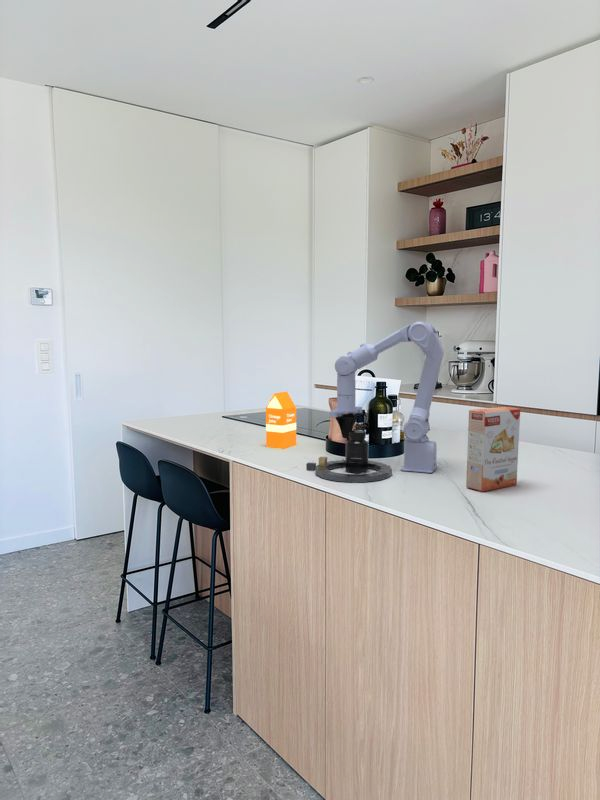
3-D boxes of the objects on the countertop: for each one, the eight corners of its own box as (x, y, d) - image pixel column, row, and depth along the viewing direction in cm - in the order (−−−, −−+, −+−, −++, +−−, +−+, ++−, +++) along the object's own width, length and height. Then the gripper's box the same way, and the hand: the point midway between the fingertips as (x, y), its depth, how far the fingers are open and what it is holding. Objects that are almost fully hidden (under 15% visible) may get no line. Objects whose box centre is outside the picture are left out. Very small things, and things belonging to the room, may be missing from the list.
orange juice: (296, 445, 217) (296, 391, 214) (283, 449, 209) (282, 393, 207) (279, 443, 221) (278, 391, 219) (265, 447, 213) (265, 392, 211)
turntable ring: (398, 467, 177) (399, 455, 176) (380, 484, 157) (380, 470, 156) (330, 462, 185) (330, 450, 185) (304, 477, 165) (304, 464, 165)
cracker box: (483, 493, 149) (485, 411, 146) (465, 488, 154) (467, 409, 151) (518, 485, 156) (521, 407, 154) (500, 480, 161) (502, 405, 159)
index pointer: (316, 469, 176) (316, 463, 176) (313, 470, 175) (313, 464, 175) (308, 468, 177) (308, 462, 177) (306, 470, 176) (306, 463, 176)
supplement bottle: (353, 474, 170) (353, 433, 168) (341, 470, 176) (341, 430, 174) (372, 472, 173) (373, 432, 171) (360, 467, 179) (360, 428, 177)
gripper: (349, 392, 190) (349, 433, 191) (321, 396, 179) (322, 439, 180) (367, 393, 185) (367, 435, 186) (340, 397, 174) (340, 442, 175)
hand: (346, 437), depth 183 cm, fingers closed
